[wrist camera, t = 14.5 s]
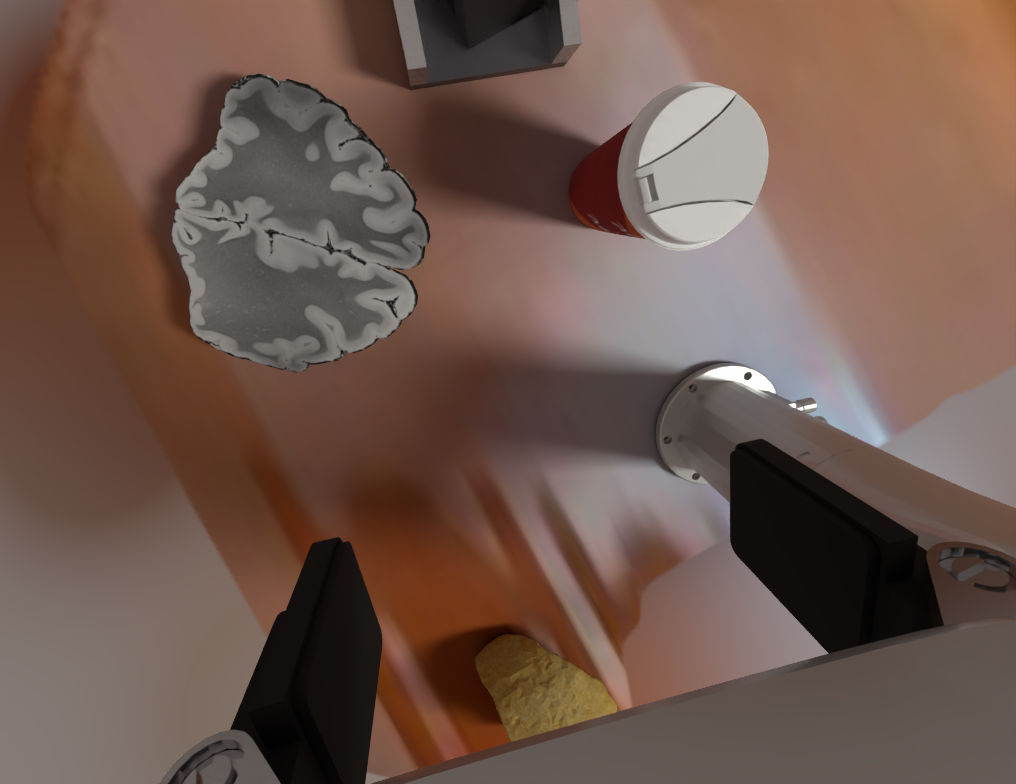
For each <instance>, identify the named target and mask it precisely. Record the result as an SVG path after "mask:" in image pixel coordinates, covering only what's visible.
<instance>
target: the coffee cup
mask: <svg viewBox="0 0 1016 784" xmlns="http://www.w3.org/2000/svg"><path fill="white" fill-rule="evenodd" d="M736 94H737V93H736V92H735V91H733V90H730V89H727V88H724V87H722V86H718V85H715V84H712V83H705V82H692V83H685V84H681V85H678V86H675V87H673V88H671V89H668V90H666V91H664V92H663V93H661V94H660V95H658V96H657V97H656V98H654V99H653V100H652V101H651V102H650V103H648V104H647V105H646V106H645V107H644V108H643V109H642V111H641V112H640V113H639V115H638V116H637V117H636V119H635V120H634V121H633V122H632V123H631V124H630V125H628V126H627V127H626V128H624V129H623V130H621V131H620V132H619V133H617V134H616V135H615V136H613V137H612V138H611V139H609V140H608V141H607V142H605V143H604V144H602V145H601V146H600V147H599V148H597V149H596V150H595V151H593V152H592V153H591V154H590V155H588V156H587V157H586V158H585V159H584V160H583V161H582V162H581V163H580V164H579V166H578V167H577V168H576V170H575V172H574V174H573V176H572V179H571V183H570V190H569V196H570V202H571V206H572V209H573V211H574V213H575V215H576V216H577V217H578V219H579V220H580V221H581V222H583V223H584V224H585V225H587V226H588V227H590V228H593V229H596V230H599V231H603V232H609V233H614V234H619V235H625V236H630V237H636V238H642V239H647V240H648V241H650V242H651V243H653V244H655V245H657V246H660V247H662V248H666V249H670V250H680V251H686V250H693V249H698V248H701V247H704V246H707V245H709V244H711V243H713V242H715V241H717V240H718V239H720V238H721V237H723V236H724V235H726V234H727V233H728V232H729V231H730V230H731V229H733V228H734V227H735V226H737V225H738V224H739V223H740V222H741V221H742V220H743V219H744V218H745V217H746V215H747V214H748V213H749V212H750V211H751V209H752V208H753V206H754V205H753V204H755V202H756V200H757V197H758V195H759V193H760V191H761V188H762V185H763V183H764V180H765V176H766V172H767V167H768V155H769V152H768V141H767V136H766V132H765V129H764V126H763V124H762V122H761V120H760V118H759V116H758V115H757V113H756V111H755V110H754V109H753V108H752V107H751V106H750V105H749V104H748V103H747V102H746V101H745V100H744V99H743V98H742V97H741V96H740V95H739V94H737V95H736Z"/></svg>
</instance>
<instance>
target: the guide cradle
mask: <svg viewBox="0 0 1016 784" xmlns="http://www.w3.org/2000/svg"><path fill="white" fill-rule="evenodd" d="M392 1H393V6H394V11H395V16H396V20H397V25H398V30H399V35H400V39H401V44H402V49H403V54H404V59H405V63H406V68H407V73H408V78H409V82H410V87H411V90H414V89H421V88H427V87H434V86H440V85H446V84H453V83H459V82H466V81H472V80H478V79H485V78H491V77H498V76H504V75H511V74H517V73H523V72H530V71H536V70H543V69H549V68H555V67H562V66H564V65H565V64H566V63H567V61H568V60H569V59H570V58H571V56H572V55H573V54H574V53H575V51H576V50H577V49H578V47H579V46H580V45H581V44H582V39H581V29H580V19H579V8H578V0H545V3H544V4H543V5H541V6H540V7H538V8H536V9H535V10H533V11H531V12H529V13H528V14H526V15H524V16H522V17H521V18H519V19H517V20H515V21H514V22H512V23H510V24H508V25H507V26H505V27H503V28H502V29H500V30H498V31H496V32H495V33H493V34H491V35H489V36H488V37H486V38H484V39H482V40H481V41H479V42H477V43H475V44H474V45H472V46H470V47H467V45H466V43H465V41H464V39H463V36H462V34H461V32H460V30H459V28H458V25H457V23H456V21H455V19H454V17H453V15H452V12H451V10H450V8H449V6H448V4H447V1H446V0H392Z"/></svg>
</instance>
